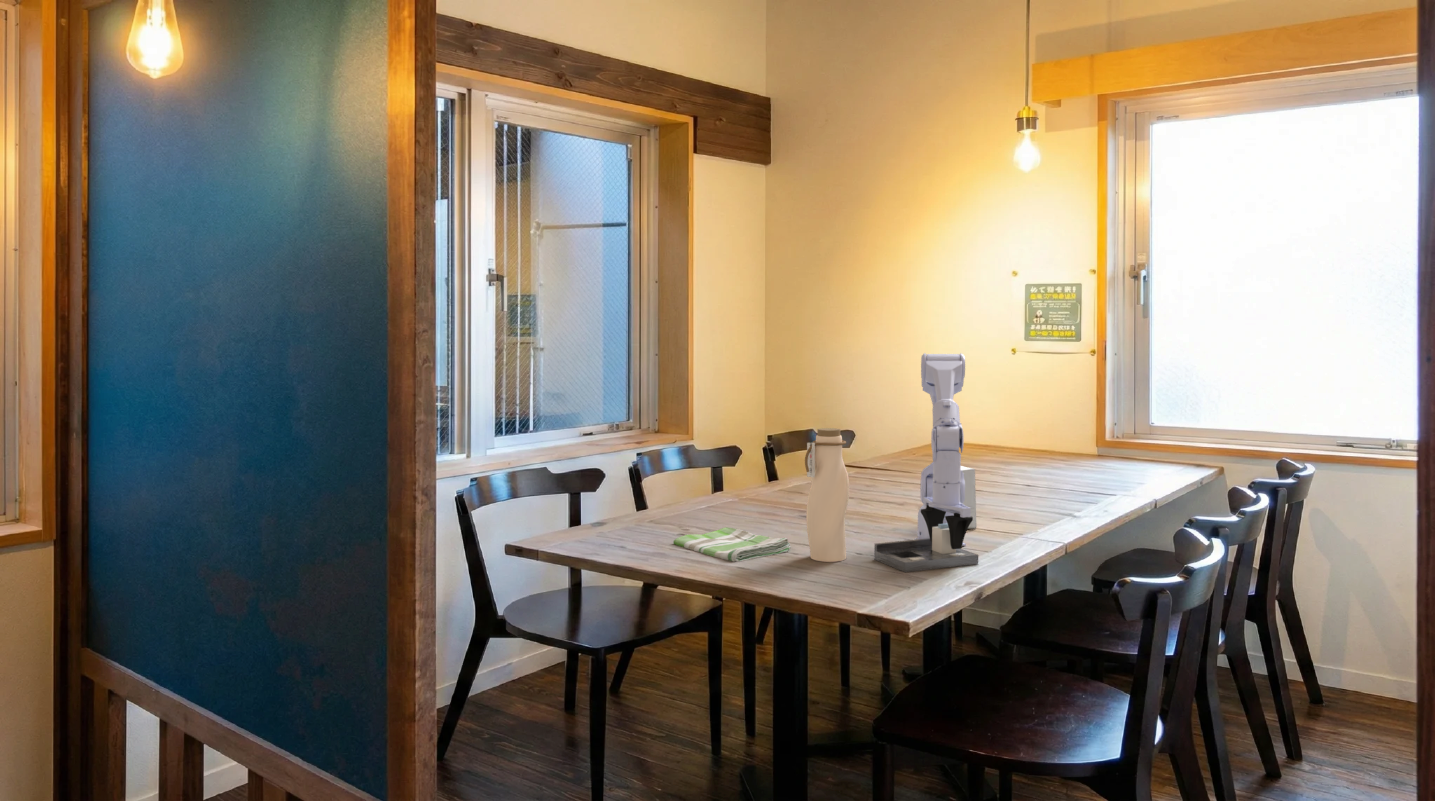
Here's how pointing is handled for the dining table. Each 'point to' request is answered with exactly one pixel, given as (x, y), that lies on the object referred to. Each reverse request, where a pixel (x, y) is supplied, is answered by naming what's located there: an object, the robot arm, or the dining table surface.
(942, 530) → the plug
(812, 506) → the water bottle
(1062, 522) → the dining table surface
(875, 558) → the port panel
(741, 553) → the dish towel
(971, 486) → the skincare box
